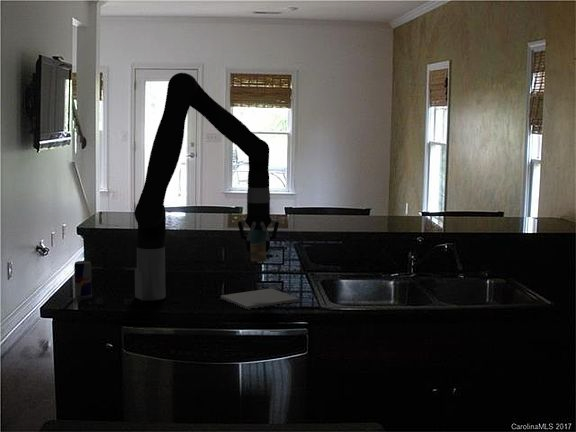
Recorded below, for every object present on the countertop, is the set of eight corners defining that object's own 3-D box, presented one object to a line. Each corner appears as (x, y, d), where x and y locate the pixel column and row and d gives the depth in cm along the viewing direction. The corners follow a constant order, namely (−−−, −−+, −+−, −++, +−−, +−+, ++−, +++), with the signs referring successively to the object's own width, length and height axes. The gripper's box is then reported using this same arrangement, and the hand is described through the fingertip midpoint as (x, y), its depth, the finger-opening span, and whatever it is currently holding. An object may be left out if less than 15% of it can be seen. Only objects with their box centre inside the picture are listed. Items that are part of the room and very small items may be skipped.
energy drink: (75, 300, 265) (74, 264, 263) (75, 296, 270) (74, 261, 268) (92, 299, 266) (91, 263, 265) (91, 295, 271) (90, 260, 270)
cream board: (246, 309, 255) (246, 306, 254) (220, 298, 269) (220, 295, 268) (299, 301, 266) (299, 298, 265) (271, 291, 280) (271, 288, 279)
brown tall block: (251, 261, 271) (250, 242, 262) (251, 248, 274) (250, 229, 265) (265, 261, 271) (265, 242, 262) (266, 248, 274) (265, 230, 265)
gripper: (235, 202, 261) (235, 253, 264) (280, 202, 261) (279, 254, 264) (237, 199, 269) (237, 249, 271) (280, 199, 269) (280, 249, 271)
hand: (258, 251), depth 267 cm, fingers closed on brown tall block, 5 cm apart
